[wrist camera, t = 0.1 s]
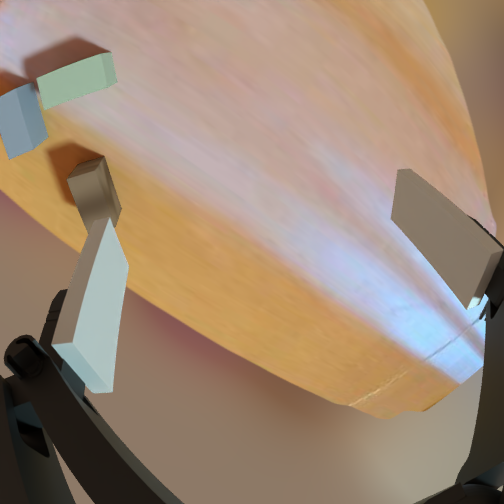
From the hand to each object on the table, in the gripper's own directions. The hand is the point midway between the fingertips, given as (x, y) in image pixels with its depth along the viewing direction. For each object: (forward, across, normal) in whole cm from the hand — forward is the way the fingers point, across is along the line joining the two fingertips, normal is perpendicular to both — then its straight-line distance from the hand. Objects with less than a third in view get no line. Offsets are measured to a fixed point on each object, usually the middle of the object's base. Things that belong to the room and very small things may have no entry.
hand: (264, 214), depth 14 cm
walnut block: (+28, -17, -8) cm, 34 cm away
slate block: (+28, -24, +5) cm, 37 cm away
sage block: (+28, -15, +7) cm, 33 cm away
